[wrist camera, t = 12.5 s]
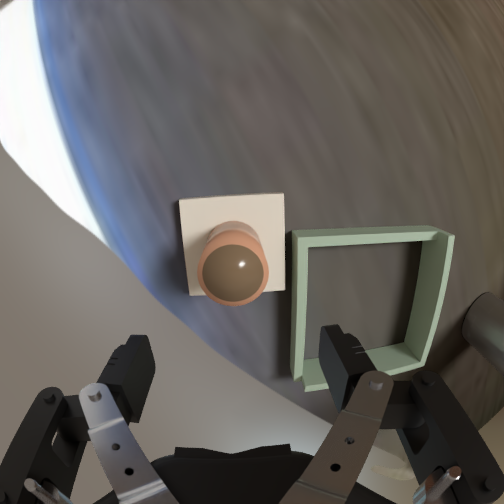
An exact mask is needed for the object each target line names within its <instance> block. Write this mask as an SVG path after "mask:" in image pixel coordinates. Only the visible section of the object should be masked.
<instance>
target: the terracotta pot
mask: <svg viewBox="0 0 504 504" xmlns="http://www.w3.org/2000/svg"><path fill="white" fill-rule="evenodd" d="M197 277H198V281H199V284H200V286H201V288H202V290H203V291H204V293H205V294H206V295H207V296H208V297H209V298H211V299H212V300H213V301H215V302H217V303H220V304H223V305H227V306H239V305H244V304H247V303H249V302H251V301H253V300H254V299H256V298H257V297H258V296H259V295H260V294H261V293H262V292H263V290H264V289H265V287H266V285H267V282H268V278H269V268H268V263H267V260H266V257H265V254H264V251H263V248H262V245H261V242H260V239H259V236H258V234H257V233H256V231H255V230H254V229H253V228H252V227H251V226H249V225H248V224H246V223H243V222H240V221H227V222H224V223H221V224H219V225H218V226H216V227H215V228H214V229H213V230H212V231H211V233H210V234H209V236H208V239H207V241H206V244H205V247H204V249H203V252H202V255H201V258H200V260H199V263H198V268H197Z"/></svg>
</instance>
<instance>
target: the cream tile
mask: <svg viewBox="0 0 504 504" xmlns="http://www.w3.org/2000/svg"><path fill="white" fill-rule="evenodd" d="M179 207H180V217H181V227H182V237H183V246H184V255H185V263H186V271H187V278H188V286H189V293H190V296H195V295H206V294H205V293H204V291H203V290H202V288H201V286H200V284H199V281H198V277H197V268H198V263H199V260H200V258H201V255H202V252H203V249H204V247H205V244H206V241H207V239H208V236H209V234H210V233H211V231H212V230H213V229H214V228H215V227H216V226H218V225H219V224H221V223H224V222H227V221H240V222H243V223H246V224H248V225H249V226H251V227H252V228H253V229H254V230H255V231H256V233H257V234H258V236H259V239H260V242H261V245H262V248H263V251H264V254H265V257H266V260H267V263H268V268H269V278H268V282H267V285H266V287H265V289H264V290H263V292H266V291H280V290H285V228H284V194H283V193H282V192H274V193H251V194H233V195H217V196H203V197H191V198H181V199H180V200H179Z"/></svg>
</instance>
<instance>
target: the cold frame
mask: <svg viewBox="0 0 504 504" xmlns="http://www.w3.org/2000/svg"><path fill="white" fill-rule="evenodd" d="M454 237H455V235H452V234H450V233H448V232H445V231H443V230H440V229H438V228H435V227H433V226H430V225H425V226H388V227H359V228H334V229H311V230H292V309H291V349H290V370H291V373H292V377H293V381H294V382H298V381H302V383H303V387H304V390H305V392H308V391H315V390H322V389H328V388H329V387H328V384H327V382H326V379H325V377H324V374H323V372H322V369H321V366H320V363H319V358H314V359H306V360H303V358H304V343H305V326H306V304H307V273H308V247H321V246H338V245H355V244H372V243H390V242H407V241H423V242H422V251H421V258H420V266H419V272H418V279H417V284H416V290H415V295H414V301H413V306H412V310H411V315H410V319H409V324H408V328H407V332H406V336H405V340H404V342H403V343H399V344H394V345H390V346H385V347H380V348H375V349H370V350H365V352H366V353H367V354H368V356H369V358H370V359H371V361H372V362H373V364H374V366H375V367H376V369H377V370H378V371H382V372H385V373H387V374H388V375H394V374H398V373H402V372H405V371H409V370H412V369H416V368H419V367H422V366H424V365H425V362H426V359H427V356H428V353H429V350H430V347H431V344H432V340H433V337H434V334H435V330H436V327H437V323H438V319H439V316H440V312H441V308H442V304H443V299H444V295H445V290H446V286H447V281H448V275H449V270H450V264H451V258H452V252H453V244H454Z"/></svg>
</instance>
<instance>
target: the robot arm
mask: <svg viewBox="0 0 504 504" xmlns="http://www.w3.org/2000/svg"><path fill="white" fill-rule="evenodd" d="M462 335H463V337H464V339H466V340H467V341H468V342H469V343H470V344H471V345H472V346H473V347H474V348H475V349H476V350H477V351H478V352H479V353H480V354H481V355H482V356H483V357H484V358H485V359H486V360H487V361H488V362H489V363H491V364H492V365H493V366H494V367H495V368H496V369H497V370H498V371H499V372H500V373H501V374H502V375H503V376H504V301H503V300H502V299H500V298H499V297H497V296H495V295H494V294H492V293H489V292H488V293H485V294H483V295H481V296H480V297H479V298H478V299H477V300H476V301H475V302H474V303H473V305H472V306H471V308H470V309H469V311H468V313H467V315H466V317H465V319H464V322H463V326H462ZM319 363H320V366H321V369H322V372H323V374H324V377H325V379H326V382H327V384H328V387H329V389H330V392H331V395H332V397H333V400H334V402H335V405H336V407H337V410H338V413H339V415H338V417H337V419H336V421H335V423H334V424H333V426H332V428H331V430H330V432H329V433H328V435H327V437H326V439H325V440H324V441H323V443H322V445H321V446H320V448H319V450H318V451H317V453H316V454H315V456H312V455H310V454H306V453H302V452H296V451H291V448H290V444H283V445H274V446H262V447H258V448H255V449H251V450H247V451H243V452H239V453H234V454H229V453H223V452H218V451H213V450H208V449H204V448H182V447H175V453H174V455H168V456H164V457H162V458H159V459H156V460H154V461H153V462H151V463H150V462H149V461H148V459H147V458H146V456H145V455H144V453H143V451H142V450H141V448H140V446H139V445H138V443H137V442H136V440H135V438H134V436H133V434H132V433H131V431H130V429H129V427H128V426H129V423H130V422H134V423H139V420H140V417H141V414H142V410H143V407H144V404H145V401H146V398H147V395H148V392H149V389H150V386H151V383H152V380H153V377H154V374H155V361H154V357H153V353H152V350H151V346H150V342H149V339H148V337H147V335H130V337H129V339H128V341H127V342H126V344H125V345H121V346H119V347H118V348H117V349H116V350H114V352H113V354H112V356H111V357H110V359H109V361H108V363H107V365H106V366H105V368H104V370H103V372H102V373H101V375H100V377H99V379H98V381H97V383H92V384H90V385H87V386H85V387H84V388H83V389H82V390H81V391H80V394H79V395H72V396H64V395H63V393H62V391H61V390H60V389H59V388H56V387H49V388H45V389H43V390H42V391H41V392H40V393H39V394H38V395H37V397H36V398H35V400H34V402H33V404H32V405H31V407H30V409H29V410H28V412H27V414H26V416H25V418H24V419H23V421H22V423H21V425H20V427H19V429H18V431H17V433H16V434H15V436H14V438H13V440H12V442H11V444H10V446H9V448H8V450H7V452H6V454H5V457H4V459H3V461H2V463H1V465H0V504H73V503H72V502H71V500H70V496H71V492H72V489H73V485H74V482H75V478H76V475H77V472H78V468H79V465H80V462H81V459H82V455H83V453H84V449H85V446H86V443H87V441H92V444H93V446H94V449H95V451H96V454H97V456H98V458H99V460H100V463H101V465H102V467H103V469H104V471H105V473H106V475H107V478H108V480H109V482H110V484H111V485H112V488H113V491H111V492H110V493H108V494H107V495H105V496H104V497H102V498H101V499H100V500H98V501H96V502H95V503H93V504H396V503H394V502H392V501H390V500H388V499H386V498H384V497H383V496H381V495H379V494H377V493H375V492H373V491H372V490H370V489H368V488H366V487H364V486H363V485H361V484H359V483H358V482H356V480H357V478H358V476H359V474H360V472H361V470H362V468H363V465H364V463H365V461H366V459H367V457H368V454H369V452H370V450H371V447H372V445H373V443H374V440H375V438H376V435H377V433H378V430H379V429H396V431H397V433H398V436H399V438H400V440H401V442H402V445H403V447H404V449H405V452H406V454H407V456H408V459H409V461H410V464H411V466H412V468H413V471H414V473H415V476H416V478H417V481H418V483H419V487H418V488H417V489H416V491H415V493H414V495H413V504H492V503H493V502H494V501H496V500H497V499H498V498H499V497H500V496H501V495H502V494H503V492H504V474H503V472H502V471H501V469H500V468H499V465H498V464H497V462H496V460H495V458H494V457H493V455H492V453H491V452H490V450H489V449H488V447H487V445H486V443H485V442H484V440H483V439H482V437H481V435H480V434H479V432H478V431H477V429H476V427H475V426H474V424H473V423H472V421H471V420H470V418H469V417H468V415H467V414H466V412H465V411H464V409H463V408H462V406H461V405H460V403H459V402H458V401H457V399H456V398H455V396H454V395H453V393H452V392H451V390H450V389H449V388H448V386H447V385H446V383H445V382H444V381H443V379H442V378H441V377H440V376H439V375H438V374H437V373H435V372H432V371H426V370H425V371H420V372H417V373H416V374H415V375H414V376H413V378H412V381H393V379H392V377H391V376H390V375H388V374H387V373H385V372H382V371H378V370H377V369H376V367H375V366H374V364H373V362H372V361H371V359H370V358H369V356H368V354H367V353H366V352H365V350H364V348H363V347H362V345H361V344H360V342H359V340H358V339H357V338H356V337H354V336H353V335H351V334H350V333H347V334H344V333H343V332H342V330H341V328H340V327H339V325H338V324H336V325H328V326H322V327H321V333H320V344H319ZM56 432H57V436H56V438H55V440H54V443H53V446H52V439H53V437H54V435H55V433H56Z"/></svg>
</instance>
